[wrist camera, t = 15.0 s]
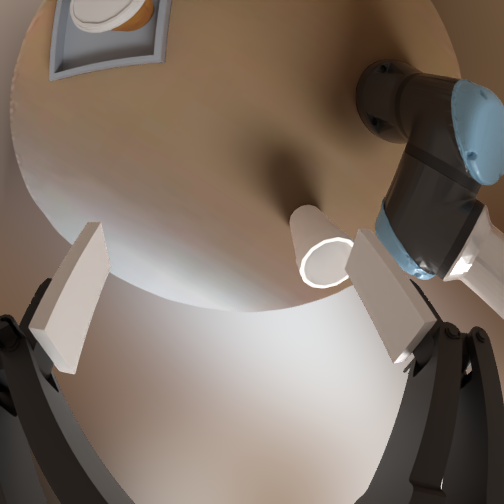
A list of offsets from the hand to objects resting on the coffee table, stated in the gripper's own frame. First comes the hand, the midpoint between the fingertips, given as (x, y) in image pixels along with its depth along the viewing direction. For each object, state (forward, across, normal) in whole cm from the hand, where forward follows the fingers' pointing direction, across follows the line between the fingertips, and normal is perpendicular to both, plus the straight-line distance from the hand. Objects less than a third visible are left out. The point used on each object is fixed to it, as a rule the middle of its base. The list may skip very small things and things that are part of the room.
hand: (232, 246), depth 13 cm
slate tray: (+31, +18, -20) cm, 41 cm away
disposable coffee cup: (+30, +14, -20) cm, 39 cm away
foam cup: (+31, -16, +15) cm, 38 cm away
